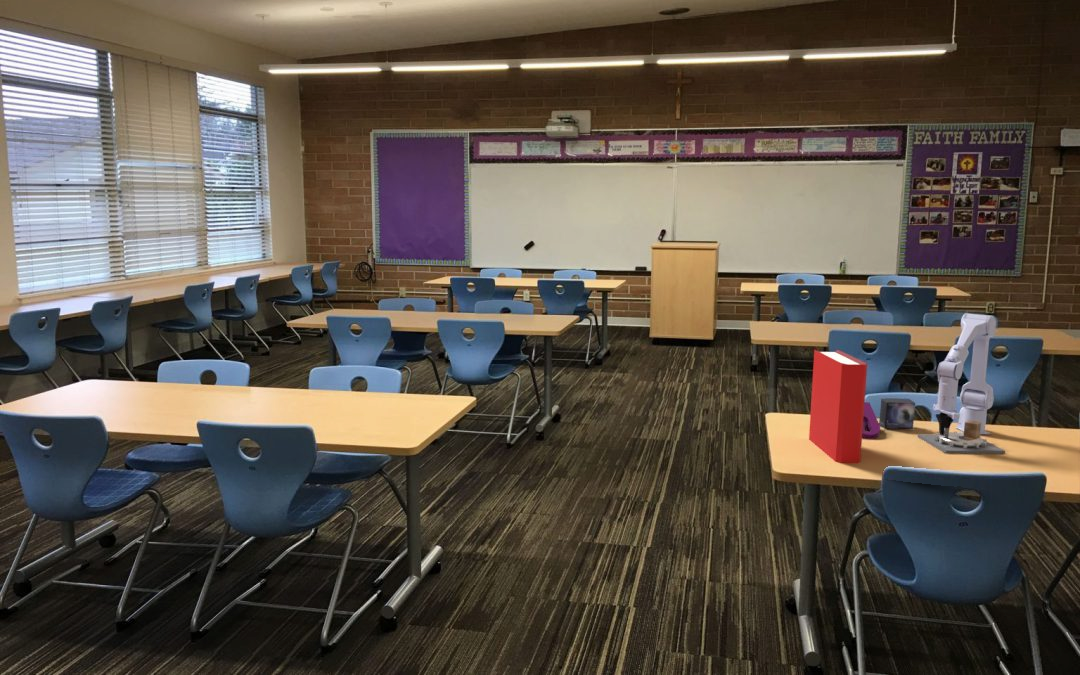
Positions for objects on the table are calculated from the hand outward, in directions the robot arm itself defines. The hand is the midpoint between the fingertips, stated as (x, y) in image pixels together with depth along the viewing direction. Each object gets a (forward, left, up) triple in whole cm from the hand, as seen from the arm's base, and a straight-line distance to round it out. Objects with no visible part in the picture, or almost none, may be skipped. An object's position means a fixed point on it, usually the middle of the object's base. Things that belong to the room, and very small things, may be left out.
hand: (943, 435), depth 292 cm
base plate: (0, +6, -4) cm, 7 cm away
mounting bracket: (-17, -22, -4) cm, 28 cm away
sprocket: (0, +6, -2) cm, 6 cm away
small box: (-23, -6, -4) cm, 24 cm away
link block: (-1, +10, -1) cm, 11 cm away
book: (+7, -40, -4) cm, 41 cm away
